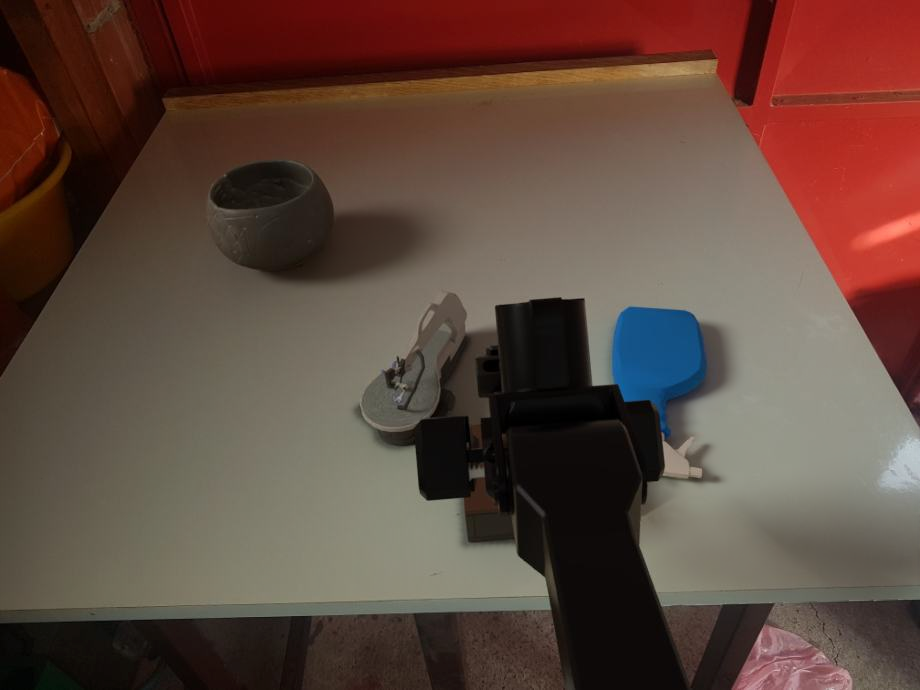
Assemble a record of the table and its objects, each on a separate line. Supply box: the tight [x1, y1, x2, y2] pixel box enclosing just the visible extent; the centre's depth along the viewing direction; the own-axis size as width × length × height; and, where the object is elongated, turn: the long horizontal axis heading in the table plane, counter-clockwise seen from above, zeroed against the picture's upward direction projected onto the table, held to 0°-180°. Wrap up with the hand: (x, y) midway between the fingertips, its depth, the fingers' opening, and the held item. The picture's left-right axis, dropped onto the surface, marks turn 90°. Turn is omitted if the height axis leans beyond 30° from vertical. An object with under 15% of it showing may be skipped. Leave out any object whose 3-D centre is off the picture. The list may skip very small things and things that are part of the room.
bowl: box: [205, 158, 335, 272], centre depth 102 cm, size 18×18×13 cm
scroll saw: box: [358, 290, 468, 447], centre depth 80 cm, size 20×11×12 cm
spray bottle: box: [611, 305, 707, 479], centre depth 80 cm, size 3×11×24 cm
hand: (528, 441), depth 62 cm, fingers open, 9 cm apart
